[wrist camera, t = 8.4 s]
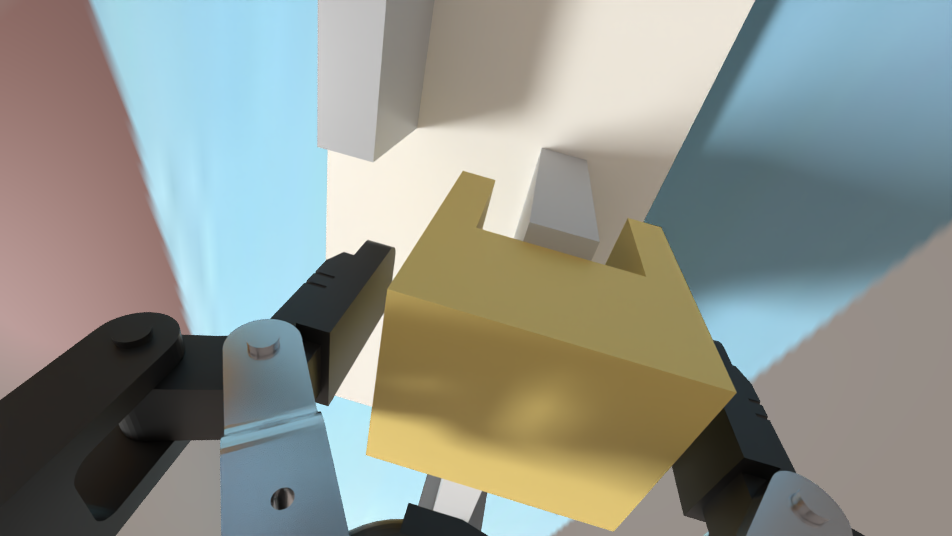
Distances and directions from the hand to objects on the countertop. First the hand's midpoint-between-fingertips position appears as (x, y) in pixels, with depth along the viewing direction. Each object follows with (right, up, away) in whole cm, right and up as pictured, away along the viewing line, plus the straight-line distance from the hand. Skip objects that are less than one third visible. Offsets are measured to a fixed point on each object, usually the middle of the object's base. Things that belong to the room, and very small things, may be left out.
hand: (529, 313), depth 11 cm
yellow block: (0, +1, +2) cm, 3 cm away
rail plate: (-2, +3, +6) cm, 7 cm away
